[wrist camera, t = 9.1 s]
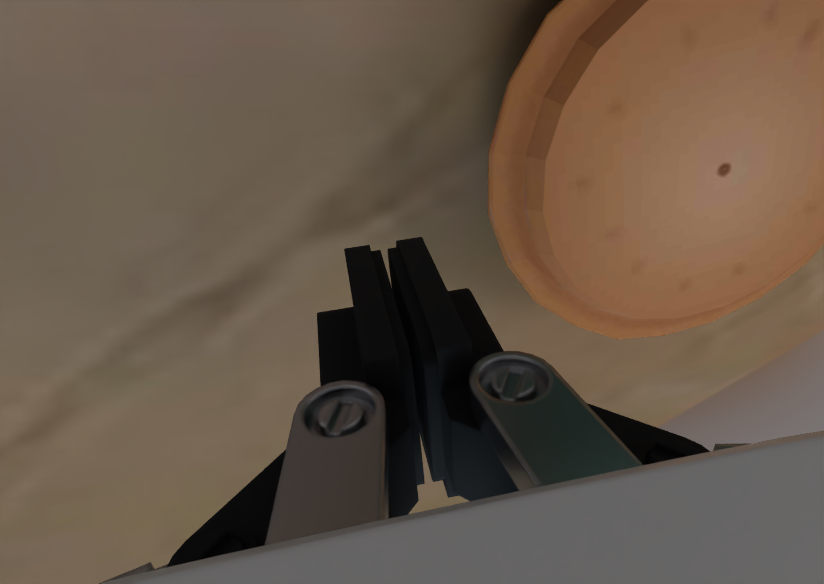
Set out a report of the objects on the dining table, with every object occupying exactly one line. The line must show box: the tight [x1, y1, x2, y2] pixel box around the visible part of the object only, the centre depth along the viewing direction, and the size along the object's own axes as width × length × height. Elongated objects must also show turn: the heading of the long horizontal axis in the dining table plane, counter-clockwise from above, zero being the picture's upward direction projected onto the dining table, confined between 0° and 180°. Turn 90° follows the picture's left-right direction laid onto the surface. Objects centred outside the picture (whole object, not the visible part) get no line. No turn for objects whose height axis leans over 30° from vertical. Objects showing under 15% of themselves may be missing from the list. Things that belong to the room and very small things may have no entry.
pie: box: [488, 0, 824, 339], centre depth 20 cm, size 15×16×5 cm
